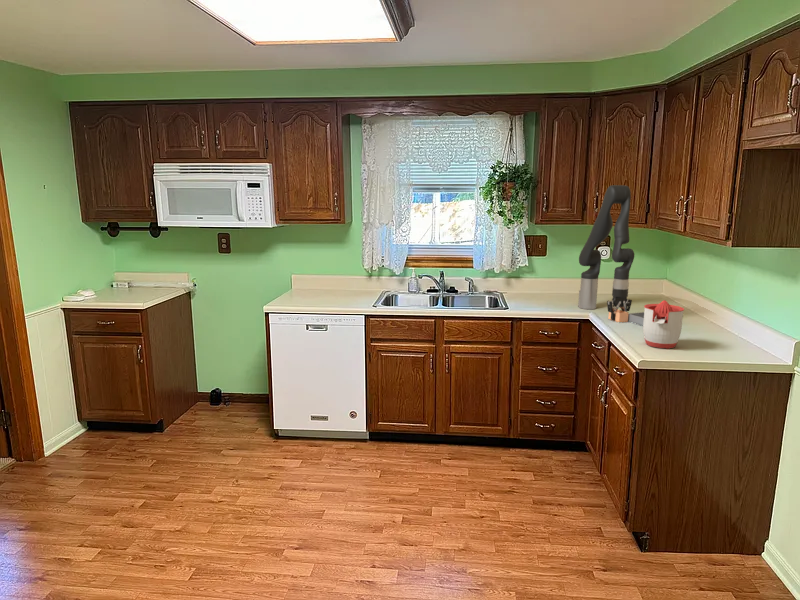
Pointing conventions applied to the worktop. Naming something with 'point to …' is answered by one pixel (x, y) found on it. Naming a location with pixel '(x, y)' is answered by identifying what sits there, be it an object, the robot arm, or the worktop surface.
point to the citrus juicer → (662, 324)
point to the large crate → (636, 318)
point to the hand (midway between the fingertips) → (618, 319)
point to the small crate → (620, 316)
